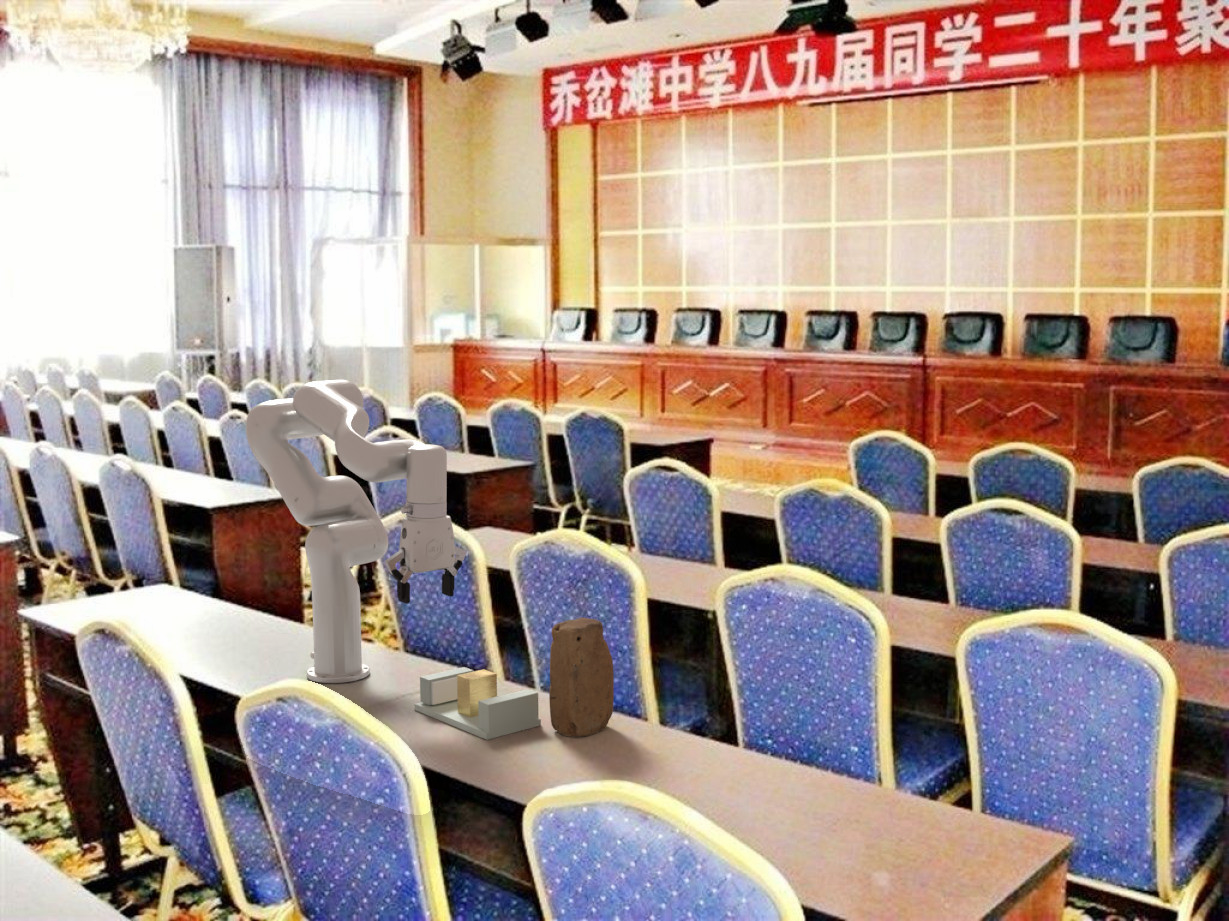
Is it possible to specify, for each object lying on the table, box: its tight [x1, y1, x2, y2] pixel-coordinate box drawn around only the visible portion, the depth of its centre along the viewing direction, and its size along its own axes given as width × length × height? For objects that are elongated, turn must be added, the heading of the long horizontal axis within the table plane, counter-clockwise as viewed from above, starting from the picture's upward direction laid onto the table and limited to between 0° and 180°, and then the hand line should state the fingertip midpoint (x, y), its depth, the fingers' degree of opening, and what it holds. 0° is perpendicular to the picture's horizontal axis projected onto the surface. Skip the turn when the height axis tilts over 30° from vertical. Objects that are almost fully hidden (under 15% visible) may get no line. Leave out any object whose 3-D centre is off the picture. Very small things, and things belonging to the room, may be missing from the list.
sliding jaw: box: [419, 666, 474, 705], centre depth 261 cm, size 4×10×5 cm, turn 131°
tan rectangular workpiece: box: [457, 669, 498, 717], centre depth 254 cm, size 4×6×7 cm, turn 131°
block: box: [548, 617, 615, 738], centre depth 246 cm, size 11×8×20 cm
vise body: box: [414, 688, 542, 741], centre depth 254 cm, size 23×12×6 cm, turn 41°
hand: (426, 598), depth 264 cm, fingers open, 9 cm apart
